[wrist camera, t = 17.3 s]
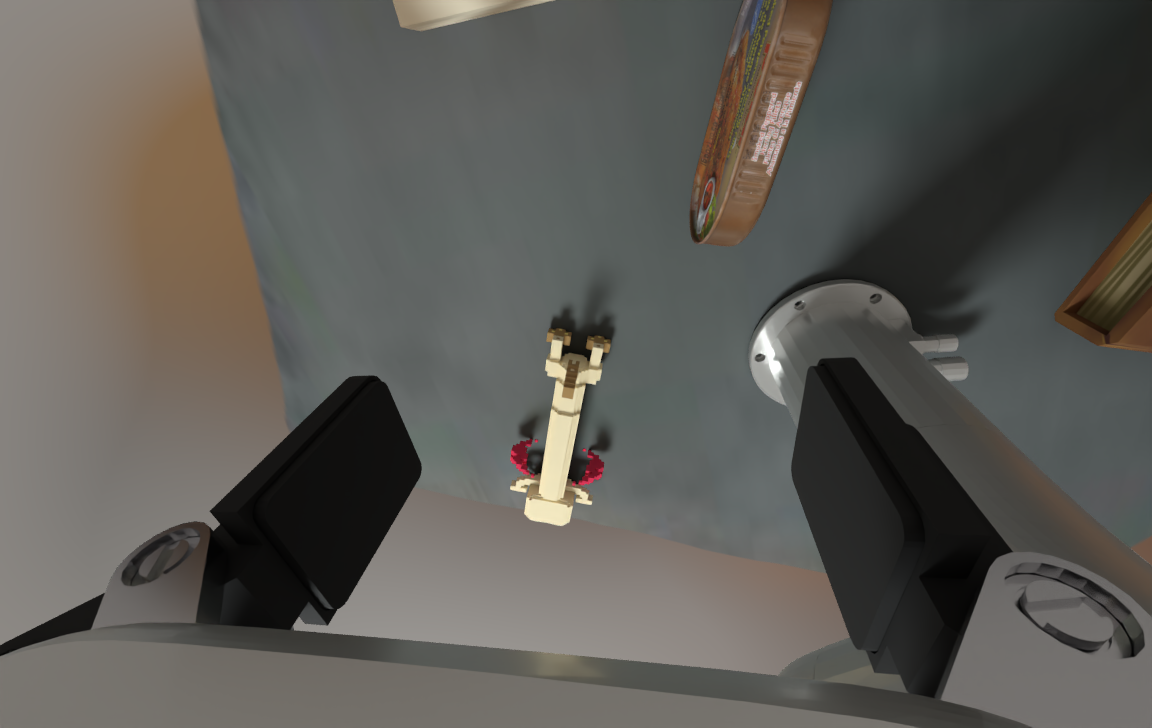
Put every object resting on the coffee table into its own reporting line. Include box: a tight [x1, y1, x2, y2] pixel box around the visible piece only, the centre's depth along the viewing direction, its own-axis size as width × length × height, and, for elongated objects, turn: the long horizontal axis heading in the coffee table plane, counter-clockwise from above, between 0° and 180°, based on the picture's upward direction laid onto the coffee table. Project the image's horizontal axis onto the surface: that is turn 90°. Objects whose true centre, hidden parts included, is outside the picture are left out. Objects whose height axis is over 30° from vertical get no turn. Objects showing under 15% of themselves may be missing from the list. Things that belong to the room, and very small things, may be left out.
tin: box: [690, 0, 833, 246], centre depth 26 cm, size 15×3×8 cm, turn 173°
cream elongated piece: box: [510, 328, 611, 526], centre depth 44 cm, size 10×9×25 cm
